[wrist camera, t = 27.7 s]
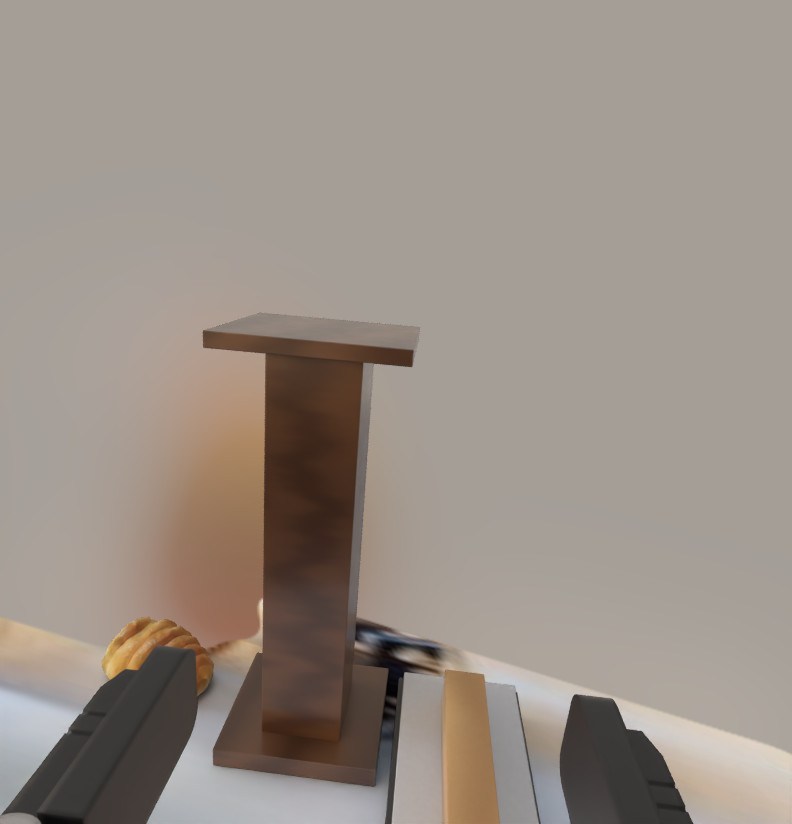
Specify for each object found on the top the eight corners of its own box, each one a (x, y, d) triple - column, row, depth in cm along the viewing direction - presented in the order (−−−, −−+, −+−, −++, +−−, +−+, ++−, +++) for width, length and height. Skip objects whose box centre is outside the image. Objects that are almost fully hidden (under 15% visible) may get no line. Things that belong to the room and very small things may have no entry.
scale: (372, 964, 29) (376, 920, 28) (396, 700, 46) (400, 667, 45) (557, 992, 28) (569, 948, 28) (512, 715, 46) (518, 682, 45)
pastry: (233, 670, 48) (232, 635, 47) (175, 727, 42) (172, 688, 41) (156, 634, 52) (153, 600, 50) (92, 682, 46) (88, 645, 44)
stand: (212, 765, 39) (202, 330, 30) (257, 665, 49) (259, 312, 40) (374, 787, 39) (413, 349, 30) (387, 681, 48) (419, 326, 39)
